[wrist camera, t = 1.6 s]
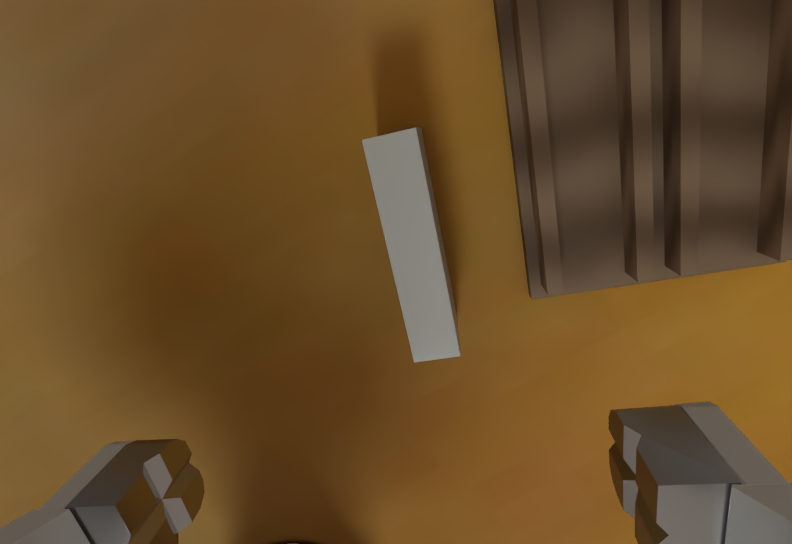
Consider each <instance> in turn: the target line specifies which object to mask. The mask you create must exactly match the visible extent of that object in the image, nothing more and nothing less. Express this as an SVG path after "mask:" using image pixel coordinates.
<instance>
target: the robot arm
mask: <svg viewBox="0 0 792 544" xmlns="http://www.w3.org/2000/svg"><path fill="white" fill-rule="evenodd" d="M609 431H610V433H611V435H612V437H613V439H614V441H615V443H614V444H613V445H612V447H611V448H610V449H609V463H610V470H611V475H612V480H613V484H614V487H615V490H616V493H617V496H618V498H619V501H620V503H621V505H622V508H623V510H624V511H626V512H627V513H628V514H629V515H631V516H632V517H633V518H635V537H636V540H637V542H638V544H792V483H789V482H788V481H787V480H786V479H785V478H784V477H783V476H782V475H781V474H780V473H779V472H778V470H777V469H776V468H775V467H774V466H773V465H772V464H771V463H770V462H769V461H768V460H767V459H766V458H765V457H764V455H763V454H762V453H761V452H760V451H759V450H758V449H757V448H756V447H755V446H754V445H753V444H752V443H751V442H750V440H749V439H748V438H747V437H746V436H745V435H744V434H743V433H742V432H741V431H740V430H739V429H738V428H737V427H736V425H735V424H734V423H733V422H732V421H731V420H730V419H729V418H728V417H727V416H726V415H725V414H724V413H723V412H722V410H721V409H720V408H719V407H718V406H717V405H715V404H713V403H711V402H698V403H686V404H676V405H675V406H673V405H670V406H657V407H643V408H629V409H616V410H611V411H610V414H609ZM191 455H192V453H191V451H190V449H189V447H188V445H187V443H186V442H185V441H183V440H179V439H159V440H136V441H121V442H113V443H111V444H108V445H105V446H104V447H103V448H102V449H101V450H100V451H99V452H98V453H97V454H96V455H95V456H94V457H92V458H91V459H90V460H89V461H88V462H87V463H86V464H85V465H84V466H83V467H82V468H81V469H80V470H79V471H78V472H77V473H76V474H75V475H74V476H73V477H72V478H71V479H70V480H69V481H68V482H67V483H66V484H64V485H63V486H62V487H61V488H60V489H59V490H58V491H57V492H56V493H55V494H54V495H53V496H52V497H51V498H50V499H49V500H48V501H47V502H46V503H45V504H44V505H43V506H42V507H41V508H40V509H39V510H31V511H29V512H27V513H26V514H24V515H22V516H21V517H19V518H17V519H15V520H14V521H12V522H10V523H9V524H7V525H5V526H3V527H2V528H0V544H179V541H178V533H179V532H180V531H181V530H183V529H184V528H185V527H186V526H188V525H189V524H190V523H191V522H192V521H193V520H194V518H195V516H196V515H197V513H198V511H199V510H200V508H201V504H202V500H203V496H204V482H203V478H202V476H201V474H200V471H199V470H198V469H196V468H195V467H194V466H193V465H191V464H190V463H189V460H190V457H191ZM289 544H297V543H289Z"/></svg>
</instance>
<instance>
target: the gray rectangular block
mask: <svg viewBox="0 0 792 544" xmlns="http://www.w3.org/2000/svg"><path fill="white" fill-rule="evenodd" d="M362 143H363V147H364V152H365V156H366V160H367V164H368V169H369V173H370V177H371V181H372V186H373V190H374V194H375V198H376V203H377V207H378V211H379V215H380V220H381V224H382V228H383V233H384V237H385V241H386V245H387V250H388V254H389V258H390V262H391V267H392V271H393V275H394V279H395V284H396V288H397V292H398V296H399V301H400V305H401V309H402V313H403V318H404V322H405V326H406V330H407V335H408V339H409V343H410V347H411V352H412V356H413V360H414V362H421V361H429V360H436V359H443V358H451V357H458V356H460V344H459V332H458V319H457V312H456V307H455V302H454V297H453V291H452V286H451V281H450V276H449V271H448V265H447V260H446V255H445V250H444V244H443V239H442V234H441V229H440V223H439V218H438V213H437V208H436V203H435V197H434V192H433V187H432V182H431V176H430V171H429V166H428V161H427V156H426V150H425V145H424V140H423V135H422V129H421V127H415V128H411V129H407V130H403V131H398V132H394V133H390V134H386V135H381V136H377V137H373V138H368V139H364V140H362Z"/></svg>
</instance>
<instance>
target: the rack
mask: <svg viewBox="0 0 792 544" xmlns="http://www.w3.org/2000/svg"><path fill="white" fill-rule="evenodd" d="M494 9H495V17H496V25H497V33H498V42H499V50H500V58H501V66H502V75H503V83H504V91H505V100H506V108H507V116H508V124H509V133H510V141H511V149H512V157H513V166H514V174H515V182H516V190H517V199H518V207H519V215H520V223H521V232H522V240H523V248H524V256H525V265H526V273H527V281H528V289H529V295H530V297H531V299H537V298H544V297H551V296H557V295H564V294H571V293H578V292H585V291H591V290H598V289H605V288H612V287H618V286H625V285H632V284H639V283H646V282H652V281H659V280H666V279H673V278H680V277H686V276H693V275H700V274H707V273H714V272H720V271H727V270H734V269H741V268H747V267H754V266H761V265H768V264H775V263H781V262H786V260H792V0H494Z"/></svg>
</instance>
